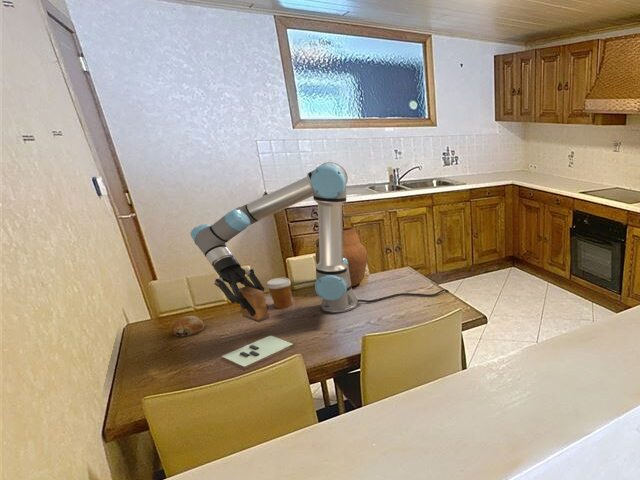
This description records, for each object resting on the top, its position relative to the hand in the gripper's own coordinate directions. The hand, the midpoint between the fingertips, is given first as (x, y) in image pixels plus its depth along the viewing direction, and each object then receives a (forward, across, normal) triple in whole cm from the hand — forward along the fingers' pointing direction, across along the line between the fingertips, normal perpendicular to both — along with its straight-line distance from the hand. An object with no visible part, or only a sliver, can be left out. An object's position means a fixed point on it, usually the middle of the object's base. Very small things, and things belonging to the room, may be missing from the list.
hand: (260, 311), depth 156 cm
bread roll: (-17, +9, -37) cm, 42 cm away
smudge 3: (+12, +7, -6) cm, 15 cm away
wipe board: (+12, +5, -8) cm, 15 cm away
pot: (-9, -57, -29) cm, 65 cm away
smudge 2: (+9, +5, -9) cm, 14 cm away
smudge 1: (+10, +9, -8) cm, 16 cm away
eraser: (0, 0, -5) cm, 5 cm away
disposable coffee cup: (-11, -25, -31) cm, 42 cm away
